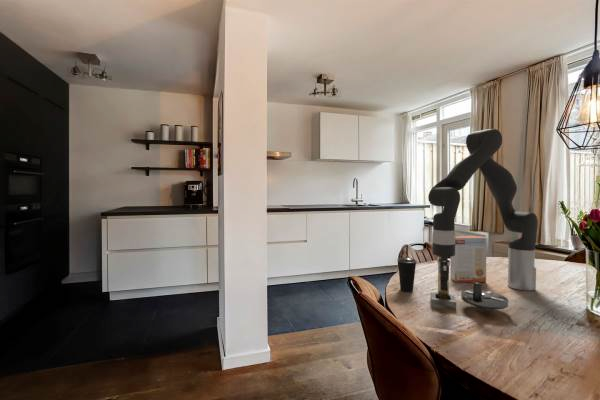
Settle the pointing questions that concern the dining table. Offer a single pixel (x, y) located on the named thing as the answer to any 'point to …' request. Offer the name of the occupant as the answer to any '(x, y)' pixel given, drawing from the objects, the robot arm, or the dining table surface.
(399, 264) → the dark tapered cylinder
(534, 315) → the dining table surface
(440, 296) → the gold metallic cylinder
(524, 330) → the dining table surface
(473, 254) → the cracker box
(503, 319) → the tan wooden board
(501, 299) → the handwheel
